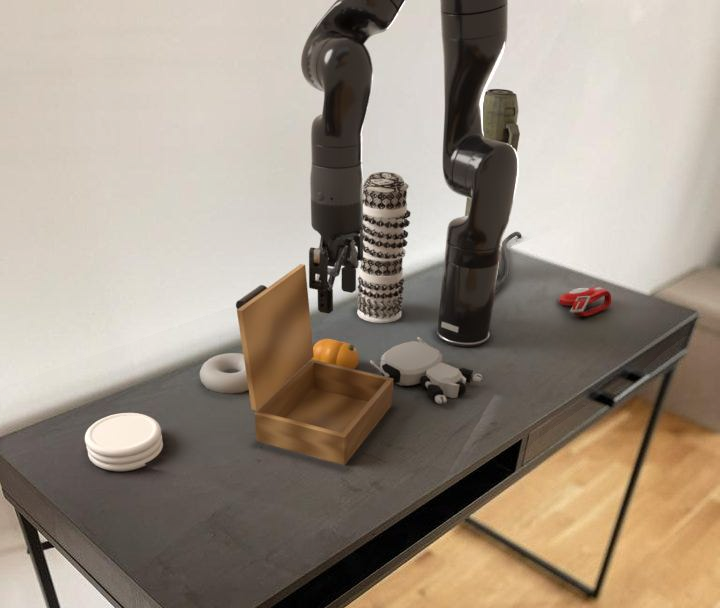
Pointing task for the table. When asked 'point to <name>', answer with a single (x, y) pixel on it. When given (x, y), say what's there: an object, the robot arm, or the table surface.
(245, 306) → the lid
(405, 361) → the robot toy
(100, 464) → the coaster
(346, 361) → the mango
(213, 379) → the donut
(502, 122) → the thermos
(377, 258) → the decorative candle
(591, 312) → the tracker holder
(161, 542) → the table surface
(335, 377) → the wooden box
